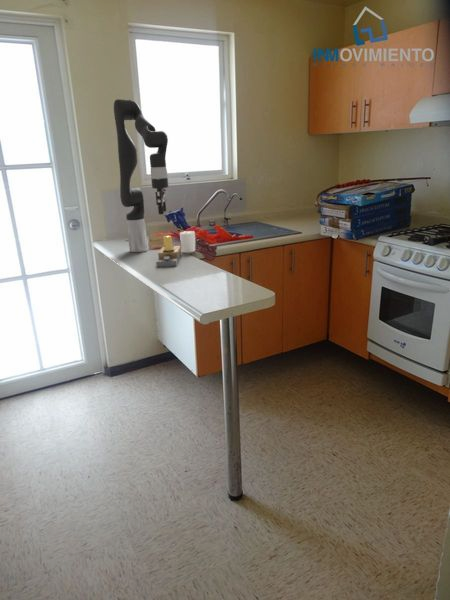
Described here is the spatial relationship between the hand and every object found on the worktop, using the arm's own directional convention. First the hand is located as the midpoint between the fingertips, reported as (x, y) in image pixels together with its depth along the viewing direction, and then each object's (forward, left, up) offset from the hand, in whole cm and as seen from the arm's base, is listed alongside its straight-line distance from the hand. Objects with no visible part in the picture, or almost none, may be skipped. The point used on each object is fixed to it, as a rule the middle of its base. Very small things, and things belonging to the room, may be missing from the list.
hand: (162, 212), depth 204 cm
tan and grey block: (+2, -4, -23) cm, 23 cm away
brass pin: (+2, -4, -23) cm, 23 cm away
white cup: (+9, +16, -23) cm, 30 cm away
